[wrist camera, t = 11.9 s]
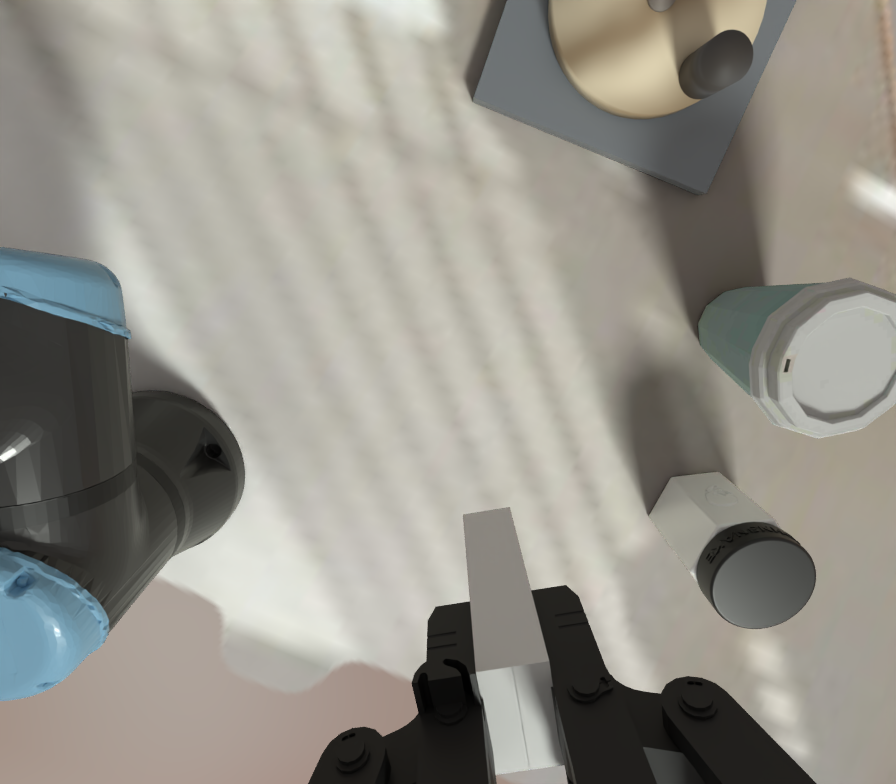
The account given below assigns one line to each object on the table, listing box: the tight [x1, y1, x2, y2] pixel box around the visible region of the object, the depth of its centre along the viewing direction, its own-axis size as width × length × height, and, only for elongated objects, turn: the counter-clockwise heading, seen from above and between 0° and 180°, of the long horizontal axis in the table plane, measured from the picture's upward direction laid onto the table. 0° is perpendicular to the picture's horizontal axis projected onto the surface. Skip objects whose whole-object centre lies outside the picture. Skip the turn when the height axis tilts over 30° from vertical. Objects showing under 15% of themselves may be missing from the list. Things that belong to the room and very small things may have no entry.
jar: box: [649, 472, 816, 629], centre depth 48 cm, size 9×8×12 cm
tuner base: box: [473, 0, 796, 195], centre depth 41 cm, size 20×20×2 cm
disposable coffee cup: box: [698, 278, 896, 438], centre depth 41 cm, size 11×11×15 cm
